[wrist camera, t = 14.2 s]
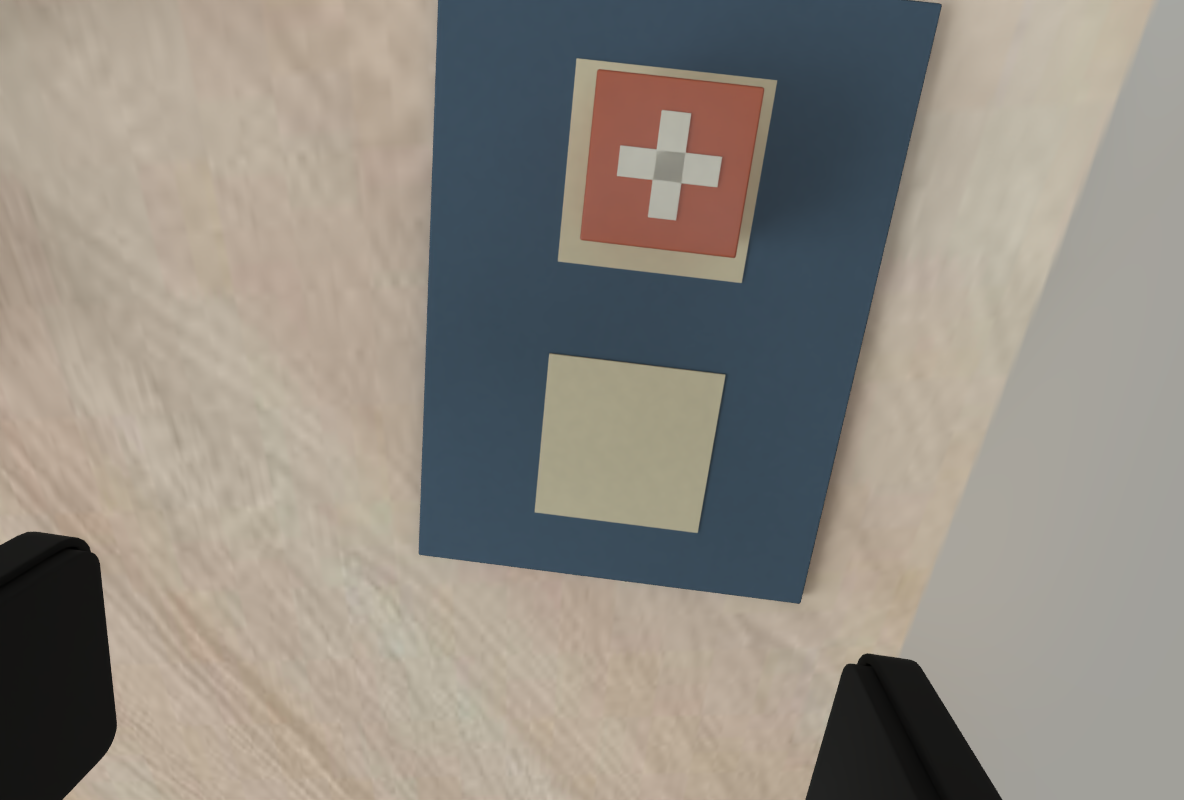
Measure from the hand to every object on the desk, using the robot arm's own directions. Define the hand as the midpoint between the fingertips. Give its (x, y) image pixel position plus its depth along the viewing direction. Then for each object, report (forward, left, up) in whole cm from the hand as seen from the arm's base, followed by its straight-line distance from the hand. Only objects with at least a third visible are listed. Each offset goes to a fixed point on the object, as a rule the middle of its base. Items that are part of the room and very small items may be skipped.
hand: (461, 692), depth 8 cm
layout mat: (-2, -2, -18) cm, 18 cm away
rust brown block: (-2, -7, -17) cm, 19 cm away
